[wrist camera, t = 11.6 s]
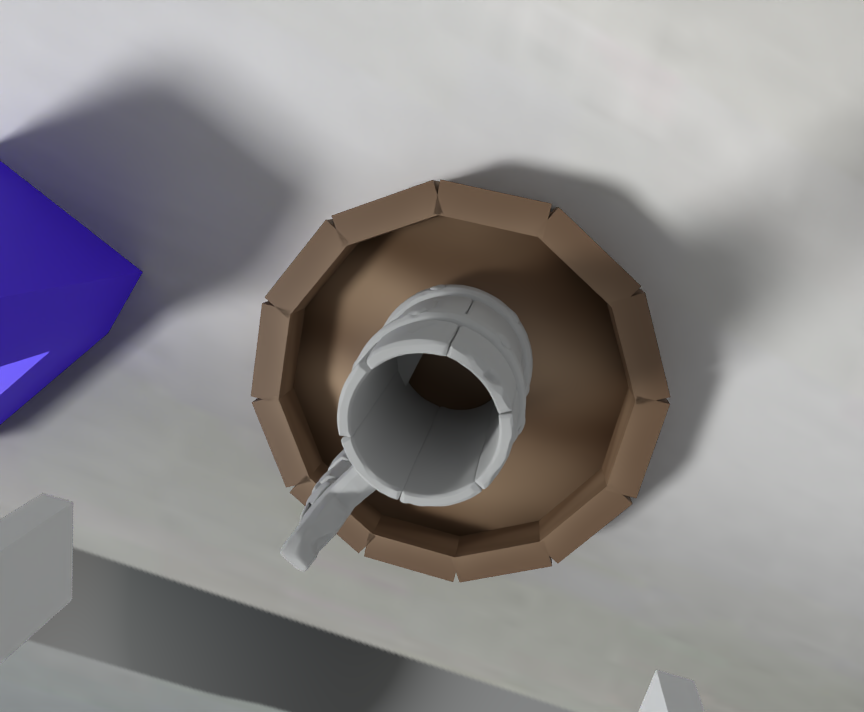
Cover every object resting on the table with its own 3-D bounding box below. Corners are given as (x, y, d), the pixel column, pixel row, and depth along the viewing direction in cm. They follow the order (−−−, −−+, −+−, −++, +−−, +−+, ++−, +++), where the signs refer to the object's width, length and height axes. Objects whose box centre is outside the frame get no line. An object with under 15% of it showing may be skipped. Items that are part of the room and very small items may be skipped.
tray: (304, 150, 28) (281, 145, 26) (707, 237, 26) (727, 241, 24) (258, 494, 34) (236, 519, 32) (586, 587, 32) (592, 622, 30)
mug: (565, 356, 28) (590, 460, 17) (406, 497, 32) (338, 663, 20) (456, 247, 28) (405, 278, 16) (307, 403, 31) (179, 518, 20)
